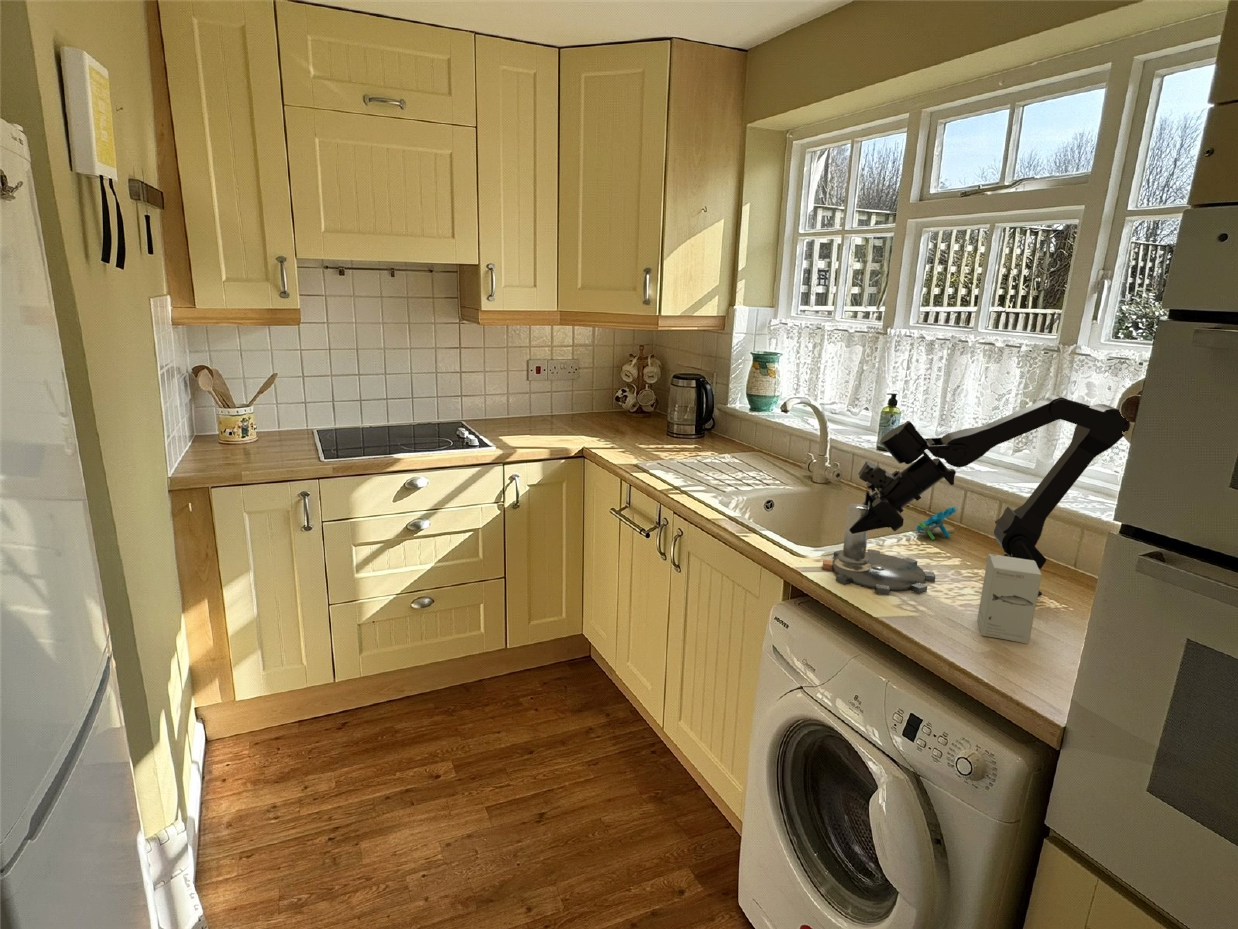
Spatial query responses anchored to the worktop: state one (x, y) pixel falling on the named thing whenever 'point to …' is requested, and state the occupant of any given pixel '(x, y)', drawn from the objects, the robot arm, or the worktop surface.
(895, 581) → the sprocket plate
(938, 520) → the cyan green stick cluster
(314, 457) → the worktop surface
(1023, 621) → the supplement box
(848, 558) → the pin
